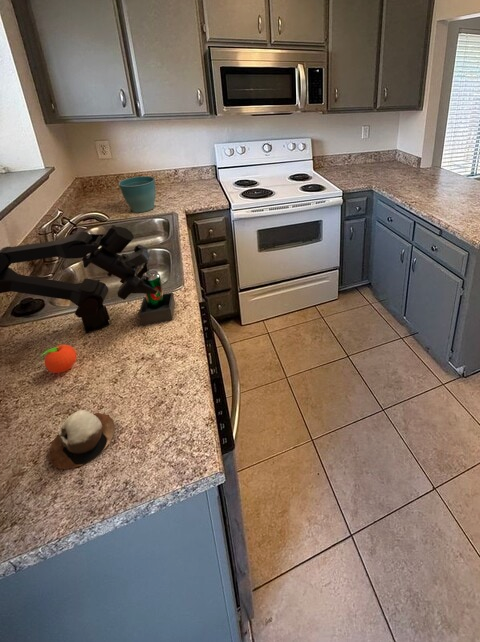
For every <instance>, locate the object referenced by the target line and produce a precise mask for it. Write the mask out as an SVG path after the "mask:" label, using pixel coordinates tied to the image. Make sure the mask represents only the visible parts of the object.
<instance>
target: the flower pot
mask: <svg viewBox="0 0 480 642" xmlns="http://www.w3.org/2000/svg"><path fill="white" fill-rule="evenodd" d="M155 180H156V179H155V177H153V176H150V175H149V176H148V175H144V176H143V175H142V176H134V177H129V178H125V179H122V180H120V181H119V182H118V186H119V188H120V190H121V194H122V197H123V199H124V201H125V202H126V204H127V205H128V206H129V208H130V211H131V212H132V213H146V212H149V211H152V210H154V208H155V201H156V195H157V194H156V193H157V190H156V182H155Z"/></svg>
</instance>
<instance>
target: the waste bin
mask: <svg viewBox="0 0 480 642" xmlns="http://www.w3.org/2000/svg"><path fill="white" fill-rule="evenodd" d="M163 296H164V301H165V303H164V305H163V306H162V307H161V308H159V309H150V308H148V305H147V301H146V296H143V298H142V301H141V304H140V307H139V308H140V309H139V311H138V317H139V321H140V322H139V323H140V325H141V326H147V325H151V324H157V323H164V322H168V321H173V320H174V314H175V308H176V307H175V306H176V301H175V295H174V292H167V293H163Z"/></svg>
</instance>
